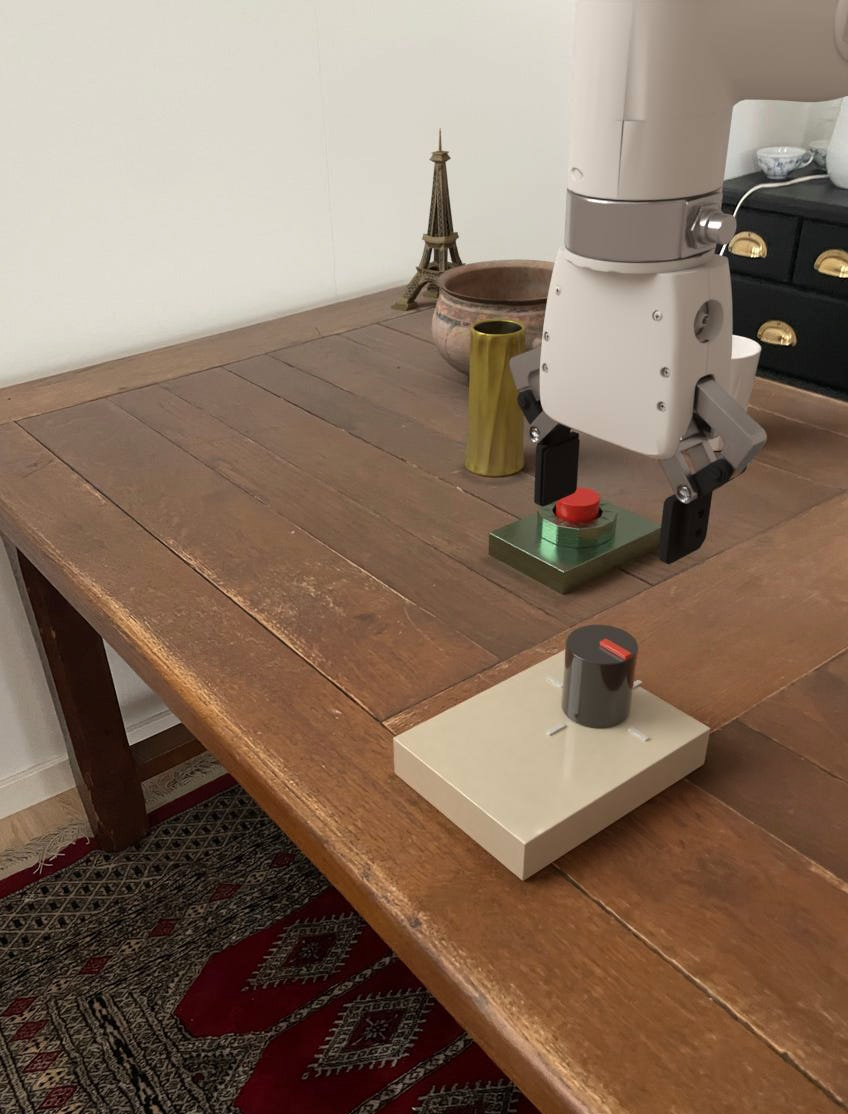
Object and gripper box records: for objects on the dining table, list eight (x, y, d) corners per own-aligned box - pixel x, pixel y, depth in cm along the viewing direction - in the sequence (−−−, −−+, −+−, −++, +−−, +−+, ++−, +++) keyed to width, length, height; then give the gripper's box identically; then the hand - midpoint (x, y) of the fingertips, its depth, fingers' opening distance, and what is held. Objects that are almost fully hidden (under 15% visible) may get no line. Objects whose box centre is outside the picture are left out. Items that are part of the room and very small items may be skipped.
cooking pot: (400, 361, 133) (398, 264, 126) (532, 340, 137) (536, 245, 131) (481, 429, 113) (483, 318, 106) (631, 402, 118) (643, 294, 111)
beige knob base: (571, 678, 74) (574, 642, 72) (707, 762, 66) (714, 724, 64) (393, 773, 66) (392, 735, 65) (522, 881, 58) (525, 842, 56)
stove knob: (546, 704, 67) (551, 636, 64) (594, 679, 69) (601, 612, 66) (596, 737, 64) (603, 668, 61) (644, 710, 66) (654, 642, 63)
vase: (500, 483, 101) (505, 340, 94) (452, 467, 105) (452, 328, 97) (535, 462, 105) (543, 323, 97) (488, 448, 109) (491, 313, 101)
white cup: (655, 444, 108) (667, 351, 102) (683, 419, 113) (695, 329, 107) (730, 460, 104) (746, 363, 98) (755, 433, 109) (771, 340, 103)
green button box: (584, 513, 95) (587, 473, 93) (660, 548, 89) (665, 507, 87) (488, 554, 90) (489, 513, 87) (562, 595, 84) (565, 552, 81)
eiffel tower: (489, 300, 154) (494, 115, 140) (449, 318, 147) (449, 126, 133) (432, 290, 160) (431, 112, 146) (391, 308, 153) (385, 122, 139)
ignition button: (576, 501, 90) (577, 483, 89) (607, 515, 87) (609, 497, 86) (546, 514, 88) (547, 495, 87) (577, 528, 85) (579, 510, 84)
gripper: (839, 236, 48) (778, 556, 57) (566, 191, 59) (553, 463, 69) (739, 270, 44) (692, 605, 54) (470, 215, 56) (470, 498, 65)
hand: (614, 525), depth 61 cm, fingers open, 9 cm apart
